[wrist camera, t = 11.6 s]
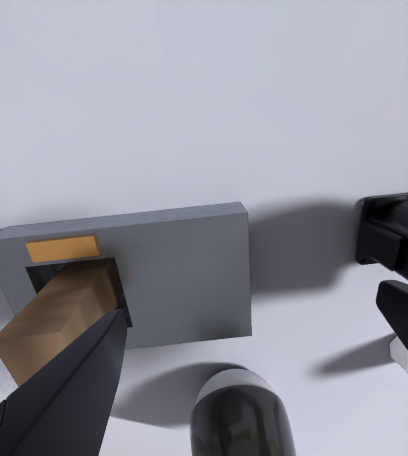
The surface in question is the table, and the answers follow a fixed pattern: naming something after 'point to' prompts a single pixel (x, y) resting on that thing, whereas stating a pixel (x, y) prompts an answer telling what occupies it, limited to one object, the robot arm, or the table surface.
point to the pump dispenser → (239, 418)
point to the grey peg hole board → (147, 268)
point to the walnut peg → (58, 315)
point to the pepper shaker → (399, 353)
